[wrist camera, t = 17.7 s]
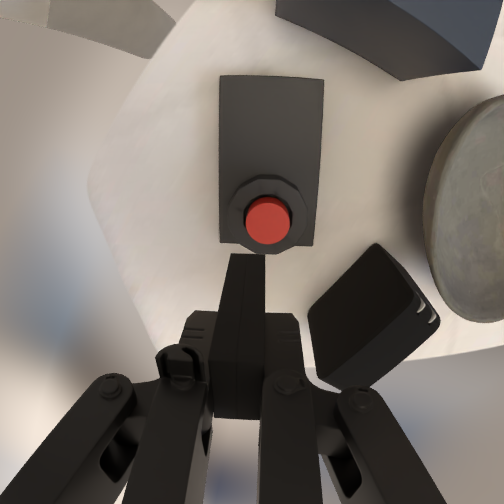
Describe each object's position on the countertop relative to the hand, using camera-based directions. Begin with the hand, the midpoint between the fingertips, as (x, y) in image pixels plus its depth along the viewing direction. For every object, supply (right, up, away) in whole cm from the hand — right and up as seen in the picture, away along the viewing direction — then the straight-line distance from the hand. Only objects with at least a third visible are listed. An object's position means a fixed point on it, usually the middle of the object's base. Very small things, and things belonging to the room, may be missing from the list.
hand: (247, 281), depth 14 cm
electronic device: (+10, -2, +16) cm, 20 cm away
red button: (+1, +4, +10) cm, 11 cm away
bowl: (+24, +7, +11) cm, 27 cm away
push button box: (+2, +9, +12) cm, 15 cm away
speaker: (+9, +22, +5) cm, 25 cm away
